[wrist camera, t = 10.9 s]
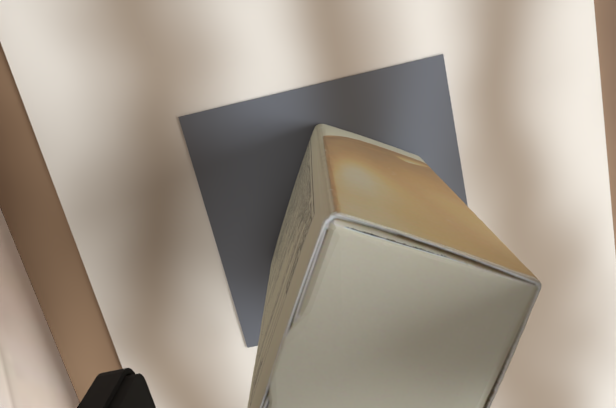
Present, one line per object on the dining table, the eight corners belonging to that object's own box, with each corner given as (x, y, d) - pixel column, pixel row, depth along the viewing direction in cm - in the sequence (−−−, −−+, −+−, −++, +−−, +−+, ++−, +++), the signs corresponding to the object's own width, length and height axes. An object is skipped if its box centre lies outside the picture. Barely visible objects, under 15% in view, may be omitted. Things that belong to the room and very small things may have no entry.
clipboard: (620, -387, 18) (673, -457, 16) (673, 470, 28) (712, 516, 25) (-133, -172, 20) (-200, -203, 18) (160, 564, 30) (145, 617, 27)
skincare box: (369, 294, 24) (427, 554, 12) (267, 264, 23) (224, 501, 12) (426, 147, 22) (559, 284, 10) (317, 112, 22) (325, 212, 10)
